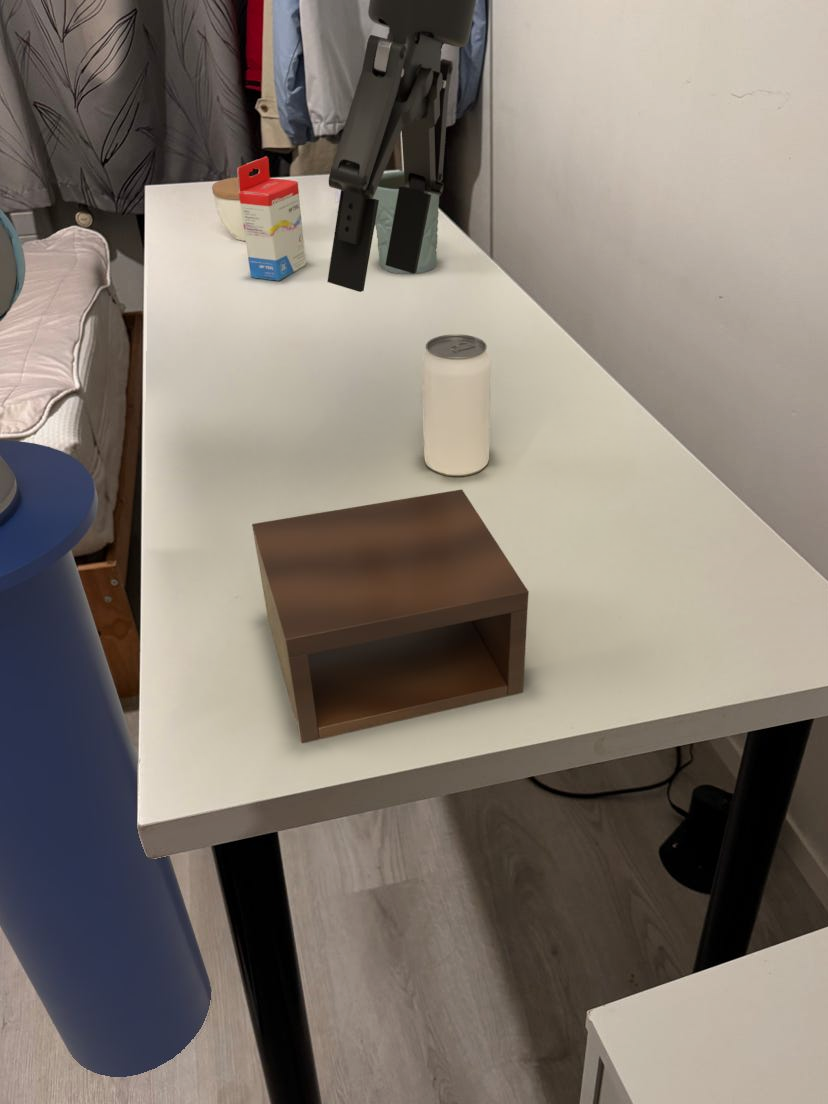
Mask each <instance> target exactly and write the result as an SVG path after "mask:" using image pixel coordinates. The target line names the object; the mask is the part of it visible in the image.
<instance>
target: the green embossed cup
mask: <svg viewBox="0 0 828 1104" xmlns="http://www.w3.org/2000/svg"><path fill="white" fill-rule="evenodd" d="M399 186H403V187H406V188H409V187H408V186H405V181H404V170H399V171H389V172H384V173H383V175H382V178H381V180H380V182H379V185H378V187H377V190H376V192H375V194H374V197H373V199H377V200H379V203H378V209H377V215H376V221H375V230H376V239H377V248H378V249H377V250H378V258H379V264H380V267H381V268H382V270H384V271H387V272H390V273H393V274H400V275H417V274H422V273H427V272H429V271H432V270H435V268H436V266H437V260H438V252H437V248H438V238H439V237H438V236H439V235H438V230H439V228H438V224H439V205H440V196H439V195H436V194H432V193H429V192H428V194H430V195H431V200H430V205H429V210H428V215H427V220H426V225H425V230H424V236H423V241H422V246H421V251H420V256H419V261H418V266H417V272H416V273H415V274H413V273H410V272H406V271H403V270H400V269H396V268H393V267H390V266H386V265H385V264H386V259H387V253H388V248H389V242H390V236H391V231H392V225H393V219H394V214H395V208H396V203H397V197H398V191H399Z"/></svg>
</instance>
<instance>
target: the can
mask: <svg viewBox="0 0 828 1104" xmlns="http://www.w3.org/2000/svg"><path fill="white" fill-rule="evenodd" d="M487 347H488V346H487V343H486V342H485V341H484V340H483V339H481V338H479V337H476V336H473V335H468V334H459V333H457V334H456V333H455V334H454V333H453V334H451V333H450V334H444V335H439V336H436V337H433V338H431V339H429V340H428V341H427V342H426V344H425V350H426V351H425V353H424V355H423V358H422V360H421V394H422V397H421V398H422V429H423V431H422V432H423V454H424V455H423V456H424V462H425V464H426V466H427V467H429V469H430V470H431V471H433V472H435V473H437V474H440V475H443V476H447V477H466V476H472V475H475V474H477V473H479V472H481V471H482V470H483V469H484V468H485V467H486V465H488V463H489V460H490V459H489V458H490V435H491V434H490V430H491V429H490V426H491V380H492V379H491V378H492V375H491V374H492V373H491V371H492V367H491V366H492V365H491V364H492V363H491V359H490V357H489V354H488V352H487Z"/></svg>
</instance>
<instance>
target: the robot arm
mask: <svg viewBox="0 0 828 1104" xmlns="http://www.w3.org/2000/svg"><path fill="white" fill-rule="evenodd" d="M368 2H369V3H368V9H367V14H368V17H369V19H370V20H371V22H373V23H374V24H377V25H379V26H383V27H385V28H388V33H387V36H386V38H385V37H381V36H377V35H374V34H370V35H369V36H368V39H367V41H366V47H365V52H364V53H365V54H364V59H363V63H362V68H361V69H362V70H361V73H360V76H359V79H358V82H357V85H356V88H355V92H354V95H353V98H352V101H351V105H350V108H349V111H348V113H347V117H346V121H345V124H344V128H343V130H342V133H341V136H340V140H339V142H338V146H337V149H336V153H335V155H334V159H333V162H332V165H331V168H330V172H329V176H328V186H329V188H333V189H335V190H336V189H339V190H341V194H340V200H339V203H338V207H337V214H336V221H335V226H334V227H335V229H334V234H333V242H332V246H331V247H332V249H331V255H330V260H329V261H330V262H329V267H328V275H327V283H328V284H333V285H336V286H338V287H343V288H345V289H349V290H351V291H355V292H359V293H361V292H364V290H365V284H366V279H367V273H368V267H369V262H370V257H371V250H372V243H373V238H374V232H375V227H376V224H375V221H376V215H377V209H378V203H379V200H377V199H373V197H374V194H375V192H376V190H377V187H378V185H379V182H380V180H381V178H382V175H383V173H385V170H386V168H387V165H388V163H389V161H390V158H391V157H392V155H393V152H394V149H395V148H396V144H397V142H398V139H399V138H400V135H401V146H402V162H403V163H402V164H403V171H404V181H405V186H408V187H409V188H406V187H403V186H399V191H398V197H397V203H396V208H395V214H394V219H393V225H392V231H391V236H390V242H389V248H388V253H387V259H386V264H385V265H386V266H390V267H393V268H396V269H400V270H403V271H406V272H410V273H413V274H412V275H416V274H415V273H416V272H417V266H418V261H419V256H420V251H421V246H422V241H423V236H424V230H425V225H426V220H427V215H428V210H429V205H430V200H431V195H430V194H428V192H429V193H432V194H436V195H439V197H440V196H441V195H442V193H443V191H444V186H445V183H444V182H442V181H443V179H444V160H445V147H446V135H447V133H446V132H447V121H448V107H449V106H448V105H449V94H450V86H451V80H452V76H453V75H452V74H453V71H454V63H453V61H452V60H449V59H445V58H442V49H443V45H449V46H451V47H456V48H463V47H465V46H466V45H467V44H468V42H469V40H470V35H471V30H472V26H473V21H474V15H475V10H476V5H477V0H369V1H368ZM24 252H25V251H24V248H23V245H22V242H21V239H20V237H19V235H18V233H17V230H16V228H15V227H14V225H13V223H12V222H11V220H10V219H9V218H8V216H7V215H6V214H5V213H4V212H3V210H2V209H0V322H2V320H4V319H5V318H6V317H7V315H8V313H9V312H10V311H11V309H12V307H13V305H14V304H15V303H16V302H17V300H18V299H19V297H20V294H21V292H22V290H23V287H24V283H25V279H26V257H25V253H24ZM20 501H21V493H20V490H19V487H18V484H17V481H16V478H15V475H14V473H13V471H12V470H11V469H10V467H9V466H8V465H7V463H6V462H5V461H4V460H3V458H2V457H1V456H0V527H1V526H2V525H3V524H5V523H6V522H7V521H8V520H9V519H10V518H11V517H12V516H13V515H14V513H15V512H16V511H17V509H18V507H19V504H20Z"/></svg>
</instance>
